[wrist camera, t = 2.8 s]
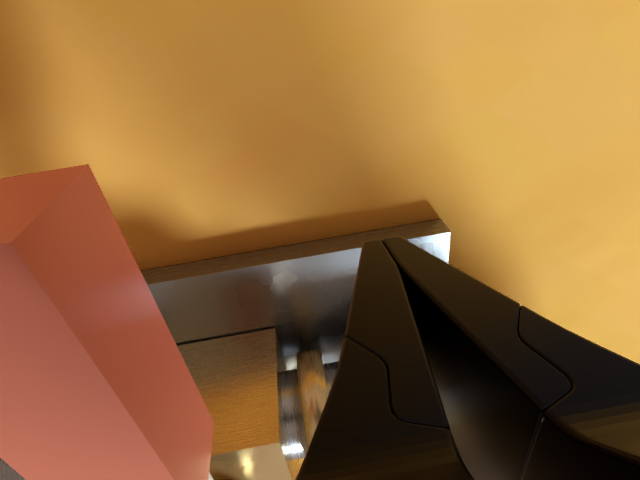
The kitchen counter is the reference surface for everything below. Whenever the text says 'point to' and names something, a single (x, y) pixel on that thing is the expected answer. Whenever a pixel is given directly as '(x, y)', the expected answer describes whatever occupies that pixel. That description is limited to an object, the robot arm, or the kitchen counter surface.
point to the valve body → (267, 342)
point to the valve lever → (87, 345)
